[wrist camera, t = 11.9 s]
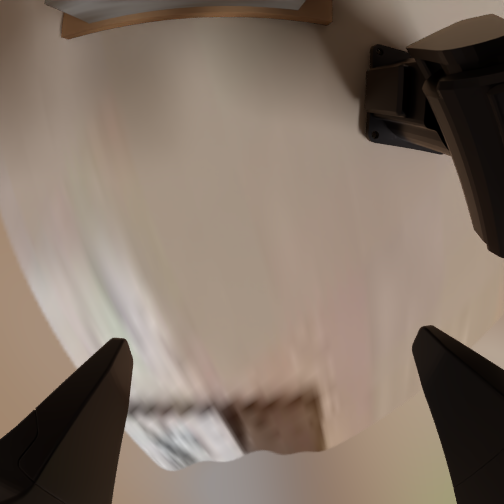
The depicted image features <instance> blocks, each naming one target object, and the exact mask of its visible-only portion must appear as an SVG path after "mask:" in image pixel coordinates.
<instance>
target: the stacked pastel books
mask: <svg viewBox="0 0 504 504" xmlns="http://www.w3.org/2000/svg"><path fill="white" fill-rule="evenodd" d="M44 4H45V5H48V6H50V7H53V8H55V9H58V10H60V11H63V12H64V16H63V25H62V34H61V37H62V38H66V39H71V38H75V37H79V36H82V35H86V34H90V33H94V32H98V31H103V30H107V29H112V28H117V27H122V26H127V25H133V24H139V23H146V22H153V21H161V20H171V19H182V18H197V17H258V18H274V19H285V20H294V21H303V22H310V23H317V24H323V25H328V24H330V23H331V22H332V0H45V3H44Z"/></svg>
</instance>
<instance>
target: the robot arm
mask: <svg viewBox="0 0 504 504" xmlns="http://www.w3.org/2000/svg"><path fill="white" fill-rule="evenodd" d="M377 49H378V50H380V52H381V54H380V55H378V54H377V52H376V50H377ZM406 49H407V50H408V52H409V53H407V52H404V51H401V50H397V49H394V48H390V47H387V46H383V45H378V44H377V45H374V46H372V47H371V49H370V69H369V70H368V71H367V75H366V95H365V109H366V111H367V122H366V138H367V139H368V140H369V141H371V142H374V143H380V144H386V145H393V146H399V147H405V148H410V149H416V150H421V151H426V152H431V153H436V154H446V155H449V156H452V159H453V162H454V165H455V167H456V170H457V173H458V176H459V179H460V182H461V186H462V189H463V192H464V195H465V199H466V202H467V206H468V210H469V213H470V217H471V220H472V224H473V227H474V230H475V231H476V233H477V234H478V235H479V236H480V238H481V239H482V240H483V241H484V242H485V243H486V244H487V249H488V250H489V251H490V252H492V253H494V254H496V255H497V256H499V257H501V258H504V19H503V18H501V17H499V16H497V15H494V14H488V15H483V16H479V17H474V18H470V19H465V20H462V21H459V22H457V23H454V24H452V25H450V26H448V27H446V28H443V29H441V30H439V31H437V32H435V33H433V34H431V35H429V36H427V37H425V38H423V39H421V40H419V41H417V42H415V43H413V44H411V45H409V46H407V47H406ZM373 131H375V132H376V136H375V137H374V138H373V137H372V132H373ZM412 352H413V356H414V359H415V363H416V366H417V370H418V374H419V377H420V381H421V385H422V388H423V391H424V394H425V397H426V400H427V402H428V405H429V408H430V411H431V414H432V417H433V420H434V423H435V425H436V429H437V432H438V435H439V438H440V441H441V444H442V448H443V451H444V454H445V458H446V461H447V465H448V469H449V472H450V476H451V480H452V484H453V487H454V493H455V497H456V501H457V504H504V370H503V369H501V368H500V367H498V366H497V365H495V364H494V363H492V362H491V361H489V360H487V359H486V358H484V357H483V356H481V355H480V354H478V353H476V352H475V351H473V350H472V349H470V348H468V347H467V346H465V345H464V344H462V343H460V342H459V341H457V340H456V339H454V338H452V337H451V336H449V335H447V334H446V333H444V332H443V331H441V330H439V329H438V328H436V327H434V326H432V325H428V326H423V327H421V328H420V329H419V331H418V334H417V336H416V338H415V340H414V342H413V345H412ZM132 370H133V358H132V355H131V351H130V348H129V345H128V342H127V340H126V339H124V338H112V339H110V340H109V341H108V342H107V343H106V344H105V345H104V346H103V347H101V348H100V349H99V350H98V351H97V352H96V353H95V354H94V355H93V356H91V357H90V358H89V359H88V360H87V361H86V362H85V363H84V364H83V365H82V366H80V367H79V368H78V369H77V370H76V371H75V372H74V373H73V374H72V375H71V376H70V377H68V379H66V380H65V381H64V382H63V383H62V384H61V385H60V386H59V387H58V388H57V389H56V390H55V391H53V392H52V393H51V394H50V395H49V396H48V397H47V398H46V399H45V400H44V401H43V402H42V403H41V404H40V405H39V406H38V407H36V410H33V411H32V412H31V413H30V414H29V415H28V416H27V417H26V418H25V419H24V420H22V421H21V422H20V423H19V424H18V425H17V426H16V427H15V428H13V429H12V430H11V431H10V432H9V433H7V434H6V435H5V436H4V437H2V438H1V439H0V504H112V497H113V489H114V483H115V477H116V471H117V464H118V459H119V454H120V448H121V443H122V438H123V433H124V428H125V423H126V418H127V413H128V407H129V397H130V388H131V379H132Z"/></svg>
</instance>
